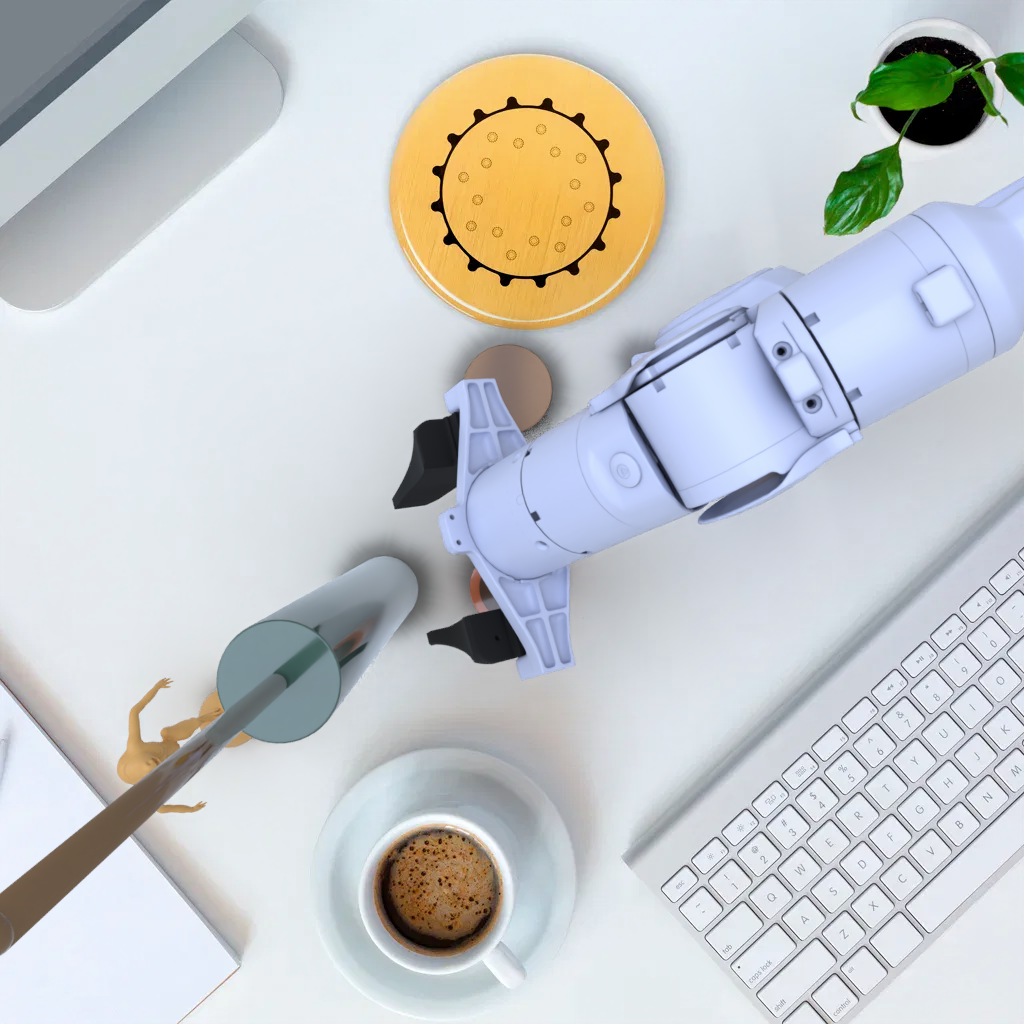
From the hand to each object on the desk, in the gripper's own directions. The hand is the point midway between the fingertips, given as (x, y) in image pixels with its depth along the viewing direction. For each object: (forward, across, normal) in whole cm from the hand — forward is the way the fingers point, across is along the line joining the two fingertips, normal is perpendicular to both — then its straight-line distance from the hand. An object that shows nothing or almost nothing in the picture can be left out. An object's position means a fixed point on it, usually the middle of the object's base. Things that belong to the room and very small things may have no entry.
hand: (425, 568), depth 52 cm
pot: (+8, 0, +11) cm, 13 cm away
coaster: (+4, -12, +12) cm, 17 cm away
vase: (+13, -1, +4) cm, 13 cm away
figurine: (+22, +4, -5) cm, 23 cm away
